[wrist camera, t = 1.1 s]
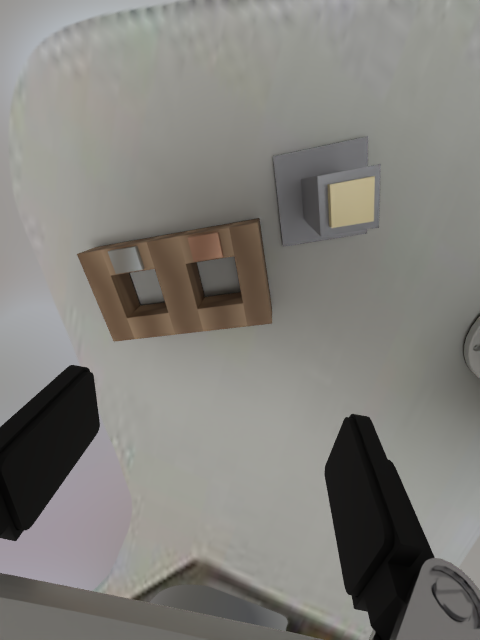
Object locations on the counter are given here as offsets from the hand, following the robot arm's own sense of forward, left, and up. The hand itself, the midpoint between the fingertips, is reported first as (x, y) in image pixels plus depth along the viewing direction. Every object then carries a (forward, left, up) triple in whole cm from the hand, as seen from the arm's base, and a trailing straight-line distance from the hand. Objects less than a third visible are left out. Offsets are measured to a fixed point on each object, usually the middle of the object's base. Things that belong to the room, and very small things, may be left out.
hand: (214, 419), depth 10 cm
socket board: (+7, 0, -22) cm, 23 cm away
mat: (-8, -6, -22) cm, 24 cm away
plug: (-8, -6, -21) cm, 23 cm away
